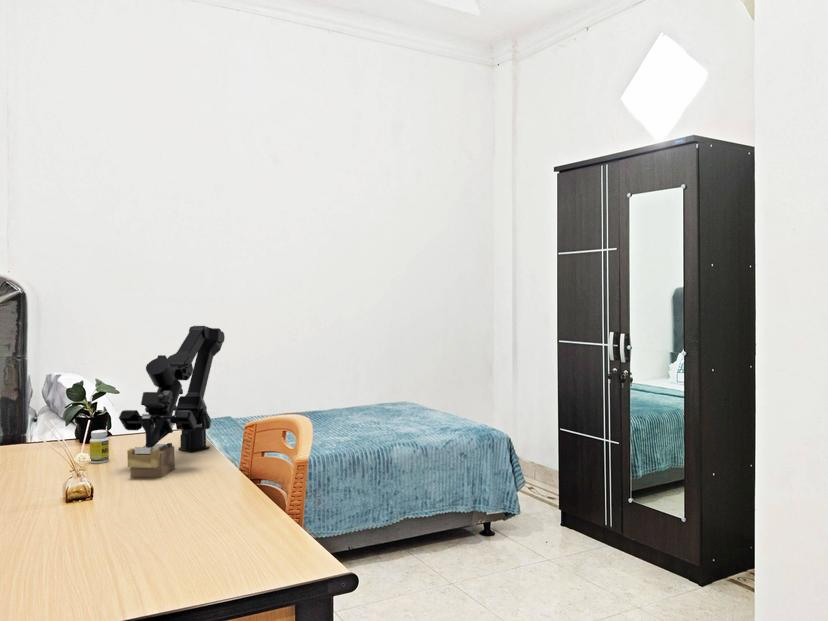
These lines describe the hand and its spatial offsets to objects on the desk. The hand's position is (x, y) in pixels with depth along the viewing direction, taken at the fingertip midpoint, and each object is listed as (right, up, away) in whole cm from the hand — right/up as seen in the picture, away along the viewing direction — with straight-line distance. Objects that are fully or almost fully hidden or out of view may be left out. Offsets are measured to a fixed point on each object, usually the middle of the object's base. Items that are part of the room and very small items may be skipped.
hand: (148, 448), depth 173 cm
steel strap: (0, -1, +2) cm, 2 cm away
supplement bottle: (-19, -7, +15) cm, 25 cm away
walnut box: (0, -7, +2) cm, 7 cm away
